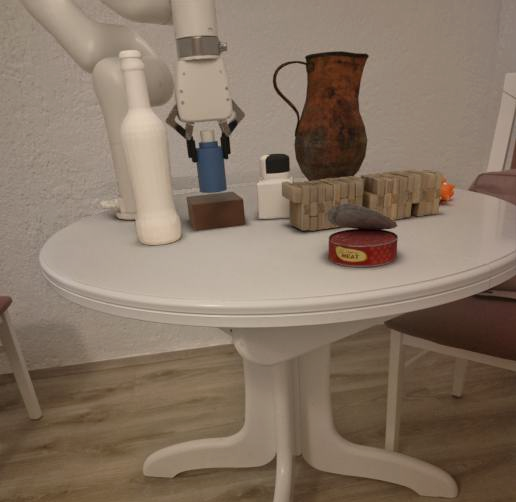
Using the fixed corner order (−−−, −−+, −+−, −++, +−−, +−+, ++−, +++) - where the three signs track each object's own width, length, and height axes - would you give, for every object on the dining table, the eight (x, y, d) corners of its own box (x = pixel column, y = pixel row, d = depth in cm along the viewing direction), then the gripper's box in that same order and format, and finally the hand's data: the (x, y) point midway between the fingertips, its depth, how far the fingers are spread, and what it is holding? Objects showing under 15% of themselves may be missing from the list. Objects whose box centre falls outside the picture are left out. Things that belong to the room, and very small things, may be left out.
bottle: (190, 234, 91) (165, 49, 77) (169, 246, 84) (138, 45, 70) (152, 234, 93) (122, 54, 80) (129, 245, 87) (92, 51, 73)
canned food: (326, 285, 74) (306, 224, 74) (382, 268, 77) (363, 208, 76) (359, 271, 63) (335, 199, 63) (423, 251, 66) (400, 181, 65)
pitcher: (372, 198, 111) (378, 45, 97) (280, 205, 111) (272, 54, 97) (358, 186, 125) (361, 53, 112) (276, 193, 126) (270, 60, 112)
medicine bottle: (294, 210, 104) (292, 151, 98) (293, 218, 98) (291, 155, 92) (261, 212, 105) (258, 153, 99) (258, 219, 98) (254, 157, 93)
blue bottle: (201, 194, 93) (194, 132, 88) (198, 190, 98) (190, 131, 93) (229, 190, 94) (223, 129, 89) (224, 187, 99) (218, 128, 94)
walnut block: (195, 230, 93) (192, 204, 91) (189, 220, 102) (186, 196, 100) (245, 224, 95) (243, 198, 93) (235, 215, 104) (233, 191, 102)
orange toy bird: (411, 170, 105) (442, 177, 95) (440, 178, 108) (472, 186, 97) (403, 193, 107) (432, 202, 97) (431, 201, 110) (462, 211, 99)
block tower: (416, 211, 99) (281, 224, 93) (420, 168, 95) (280, 178, 89) (438, 218, 92) (294, 233, 86) (444, 172, 88) (294, 184, 82)
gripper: (240, 51, 90) (248, 154, 98) (148, 56, 87) (164, 163, 95) (249, 46, 84) (257, 157, 92) (150, 52, 80) (167, 166, 88)
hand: (209, 159), depth 93 cm, fingers closed on blue bottle, 5 cm apart
